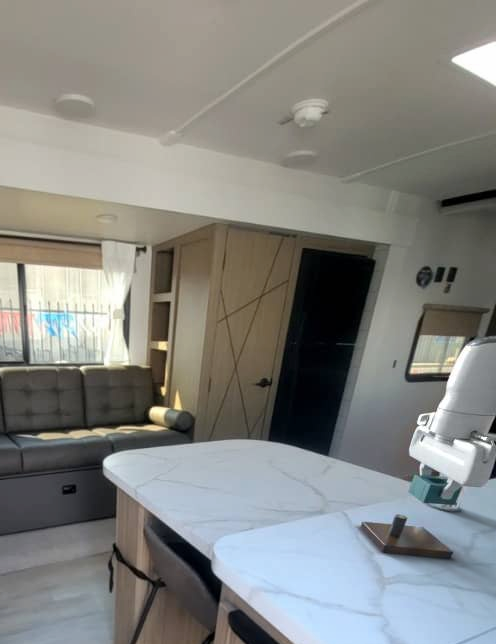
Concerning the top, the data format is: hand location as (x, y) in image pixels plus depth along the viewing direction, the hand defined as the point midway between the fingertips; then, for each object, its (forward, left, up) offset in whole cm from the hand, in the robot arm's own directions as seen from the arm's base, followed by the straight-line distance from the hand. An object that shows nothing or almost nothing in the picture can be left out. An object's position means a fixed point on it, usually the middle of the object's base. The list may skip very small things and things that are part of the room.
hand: (433, 491), depth 85 cm
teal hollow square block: (0, 0, -2) cm, 2 cm away
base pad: (+8, +10, -8) cm, 15 cm away
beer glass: (-12, -12, -8) cm, 19 cm away
